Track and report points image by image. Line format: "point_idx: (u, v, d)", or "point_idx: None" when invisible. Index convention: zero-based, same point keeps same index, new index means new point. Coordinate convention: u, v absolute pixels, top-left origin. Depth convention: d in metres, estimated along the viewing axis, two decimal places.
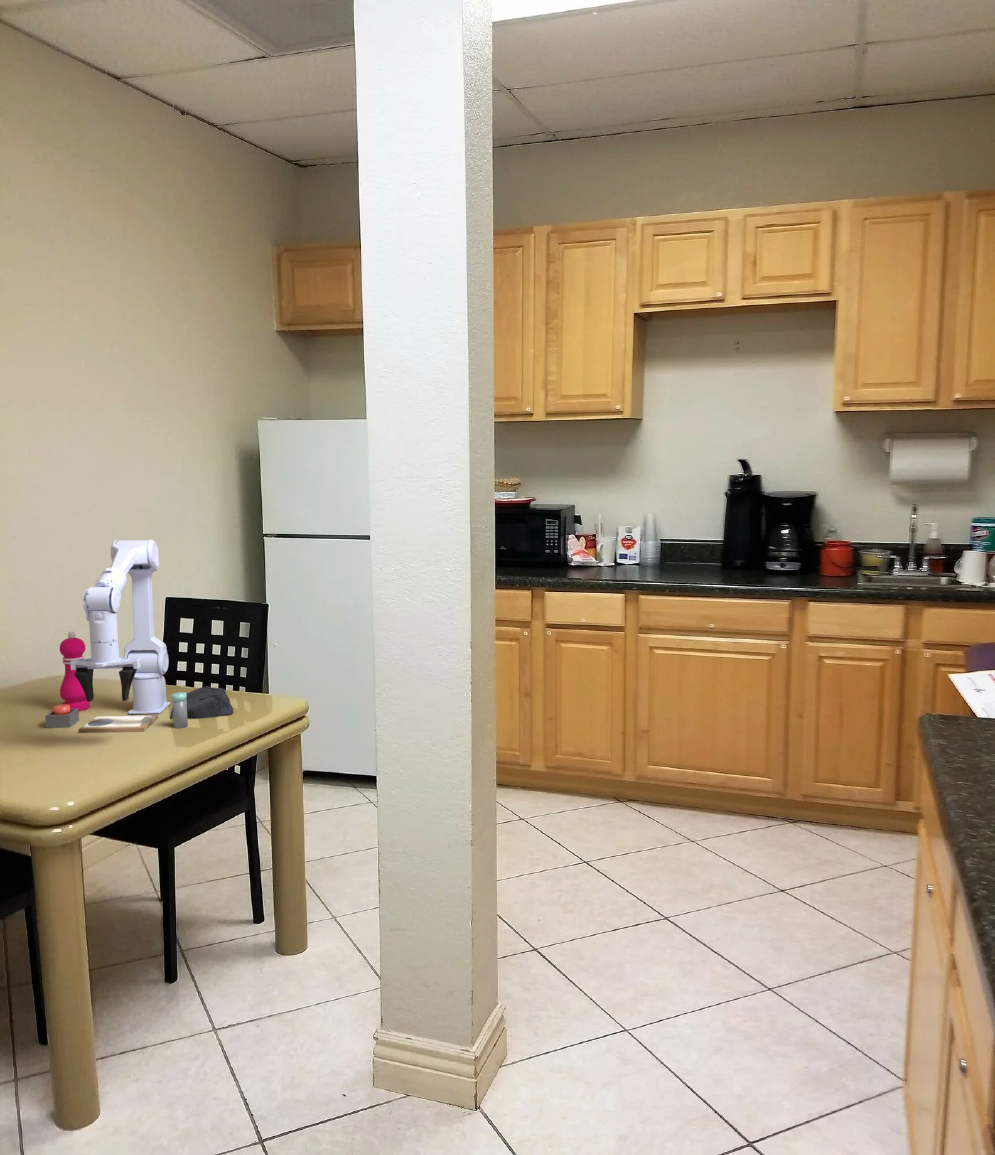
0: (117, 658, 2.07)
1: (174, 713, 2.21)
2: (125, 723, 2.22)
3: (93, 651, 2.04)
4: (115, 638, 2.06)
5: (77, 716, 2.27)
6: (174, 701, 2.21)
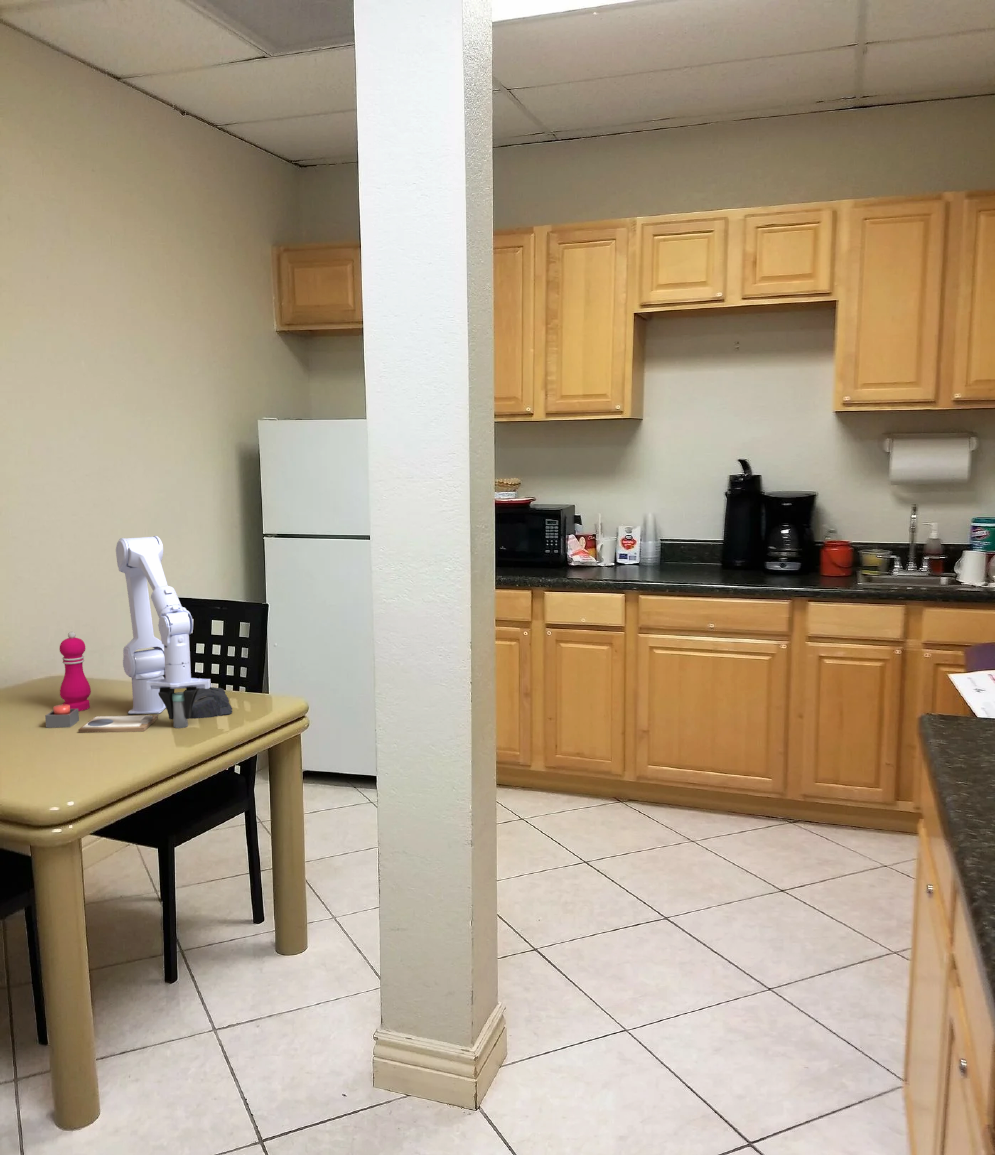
0: (189, 679, 2.21)
1: (174, 713, 2.21)
2: (125, 723, 2.22)
3: (167, 673, 2.19)
4: None
5: (77, 716, 2.27)
6: (174, 701, 2.21)
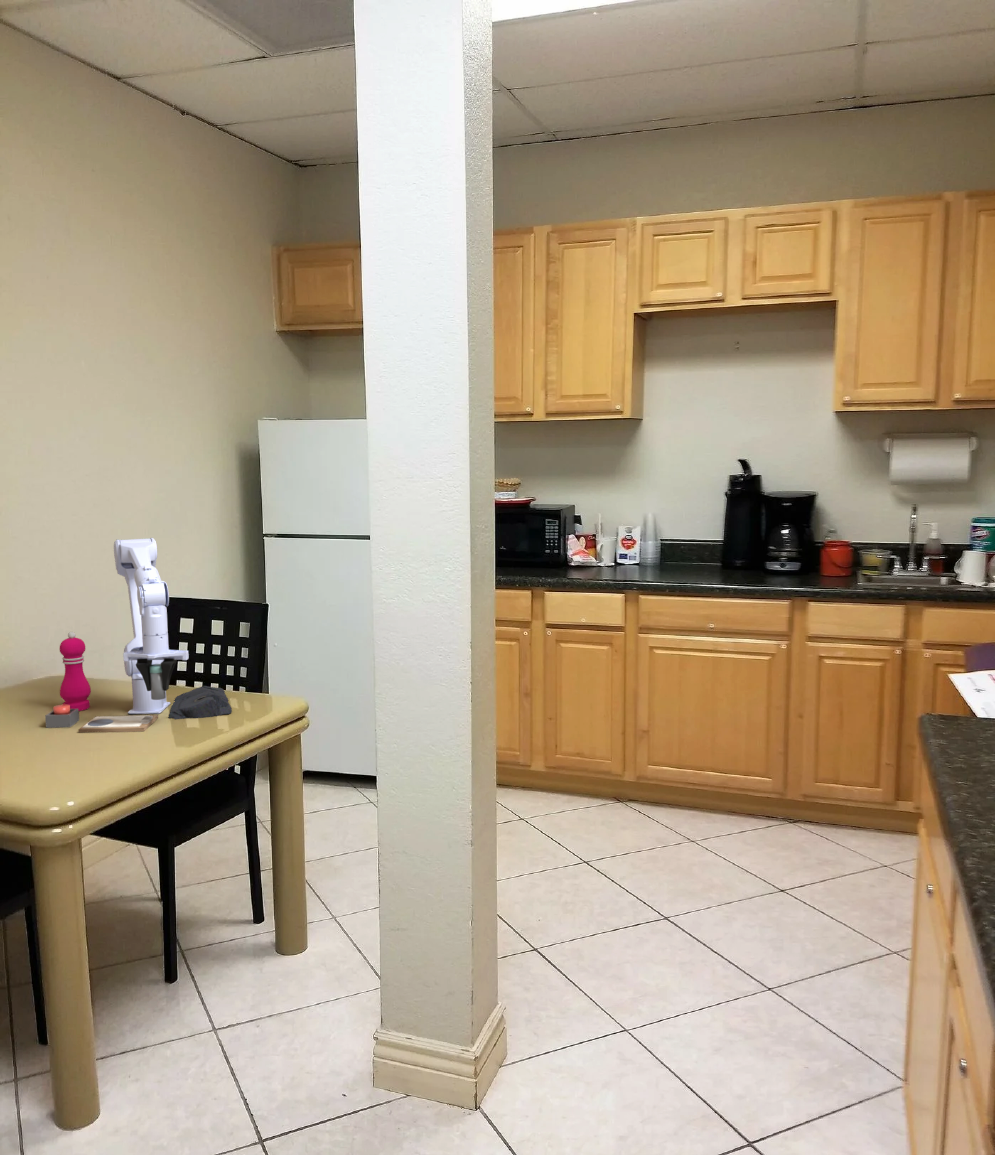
0: (167, 650, 2.20)
1: (152, 685, 2.20)
2: (125, 723, 2.22)
3: (145, 644, 2.18)
4: (167, 630, 2.21)
5: (77, 716, 2.27)
6: (152, 673, 2.20)
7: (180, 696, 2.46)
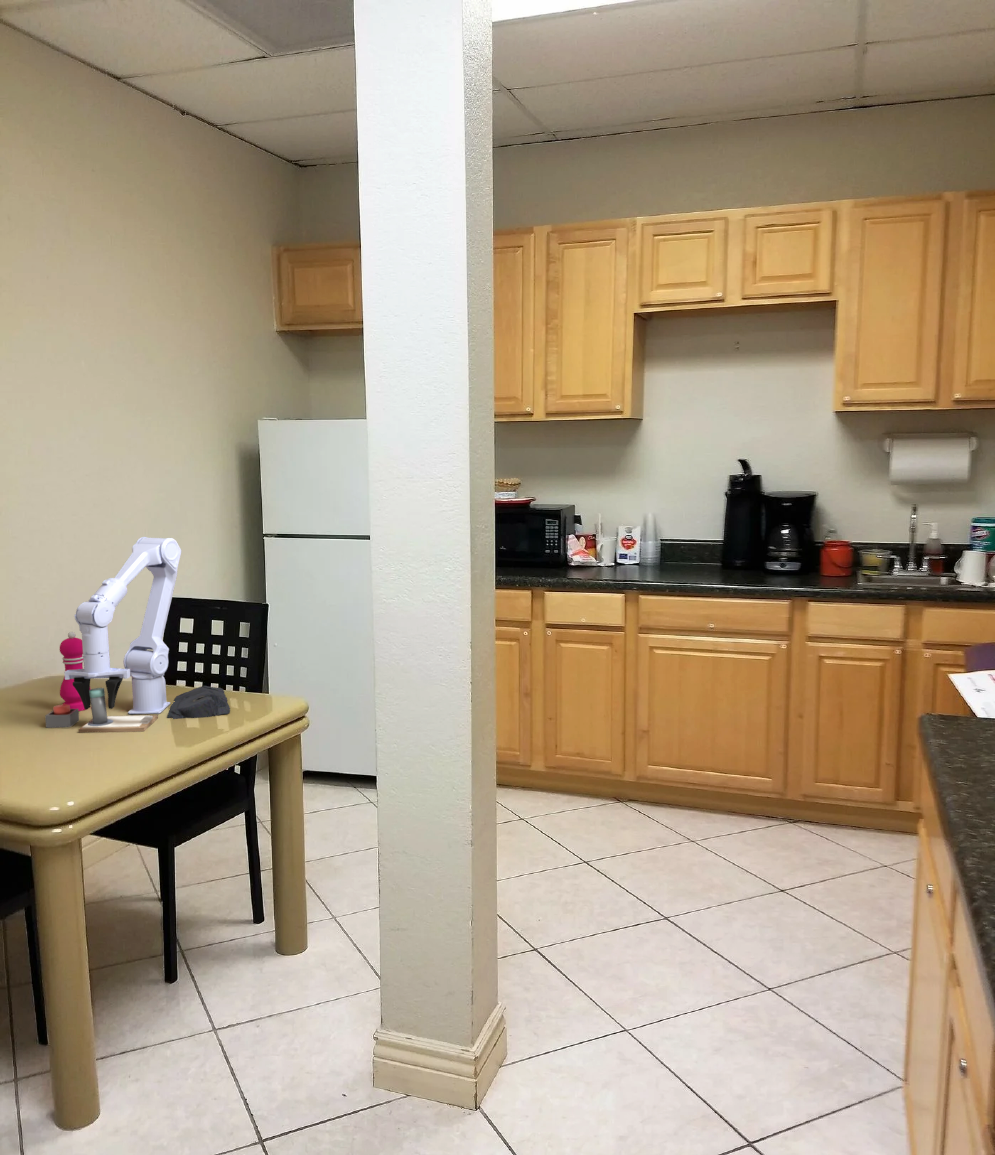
0: (108, 668, 2.21)
1: (92, 709, 2.21)
2: (125, 723, 2.22)
3: (85, 662, 2.18)
4: (102, 651, 2.19)
5: (77, 716, 2.27)
6: (91, 697, 2.20)
7: (180, 696, 2.47)
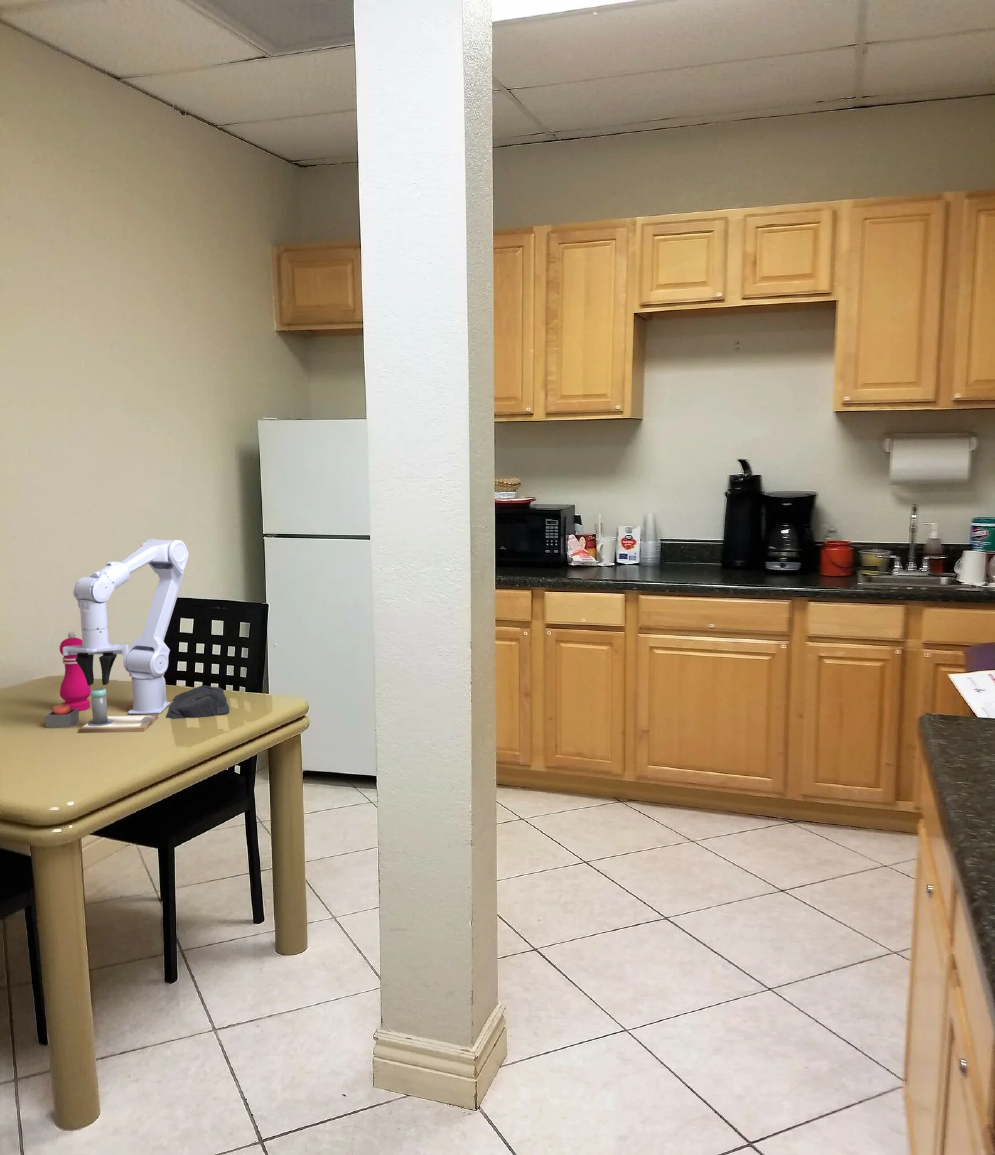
0: (107, 644, 2.20)
1: (93, 709, 2.21)
2: (125, 723, 2.22)
3: (84, 638, 2.18)
4: (100, 626, 2.18)
5: (77, 716, 2.27)
6: (93, 697, 2.20)
7: (179, 695, 2.47)
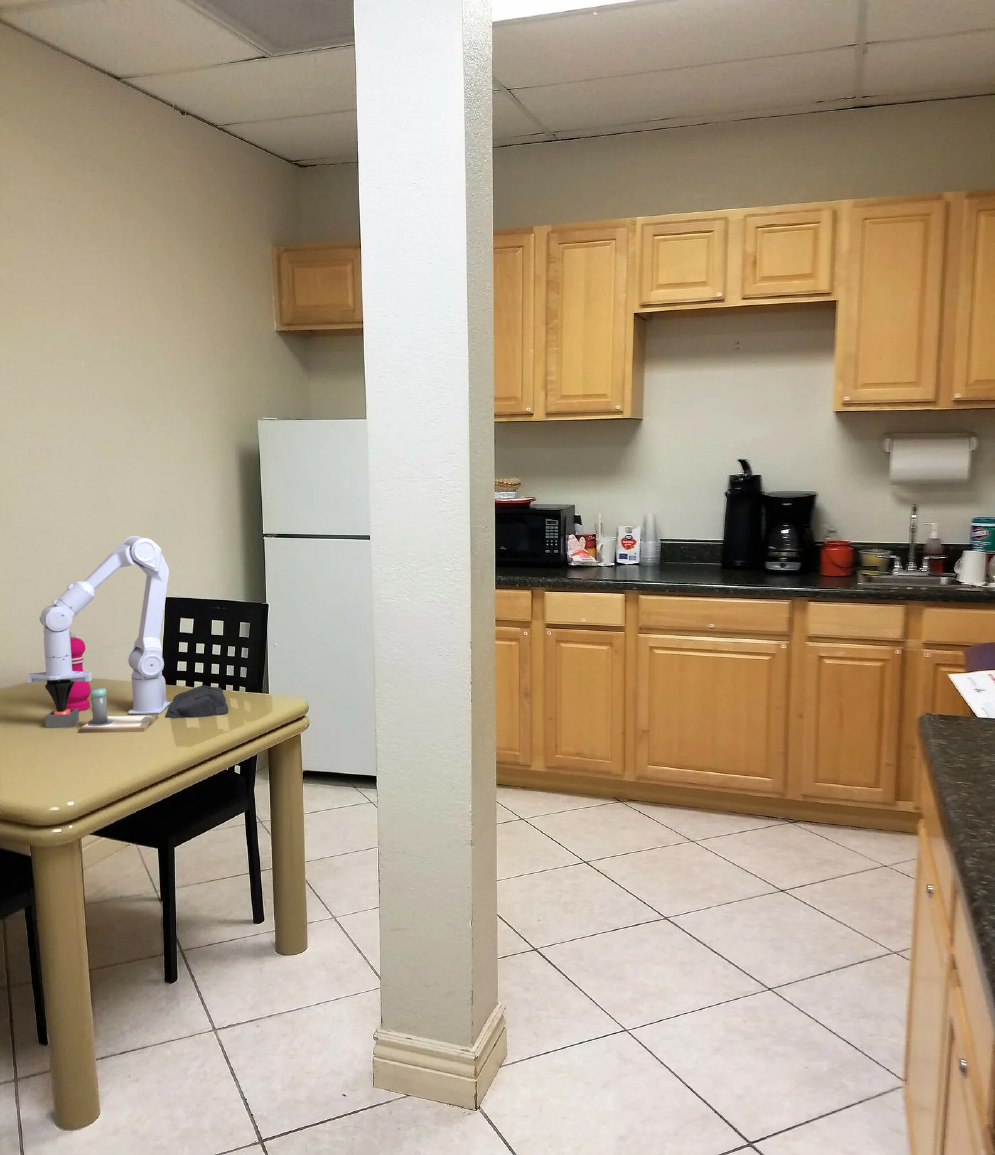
0: (70, 672, 2.23)
1: (93, 709, 2.21)
2: (125, 723, 2.22)
3: (47, 666, 2.21)
4: (56, 655, 2.20)
5: (77, 716, 2.27)
6: (93, 697, 2.20)
7: (178, 695, 2.47)
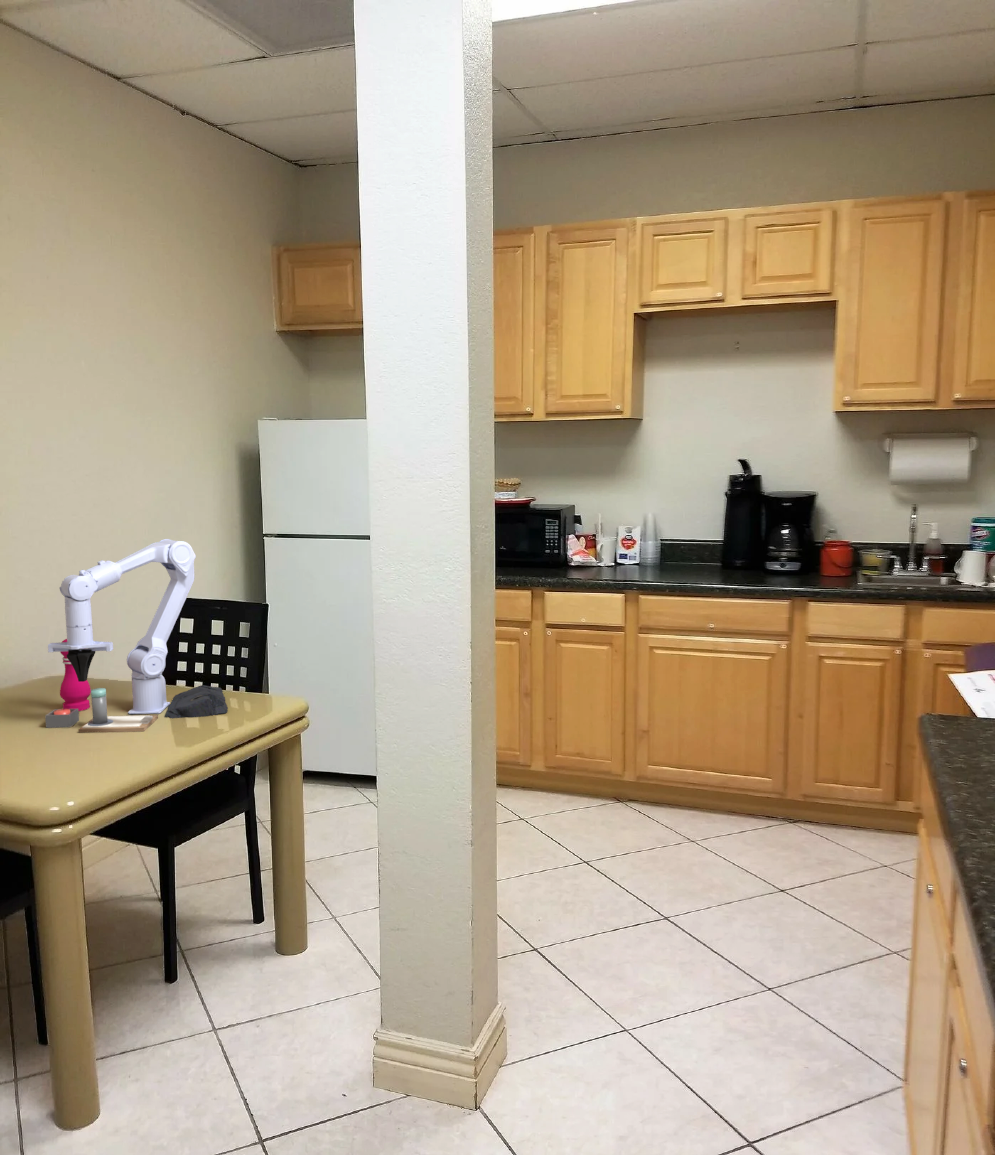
0: (91, 641, 2.24)
1: (93, 709, 2.21)
2: (125, 723, 2.22)
3: (68, 635, 2.21)
4: (79, 624, 2.21)
5: (77, 716, 2.27)
6: (93, 697, 2.20)
7: (178, 695, 2.47)
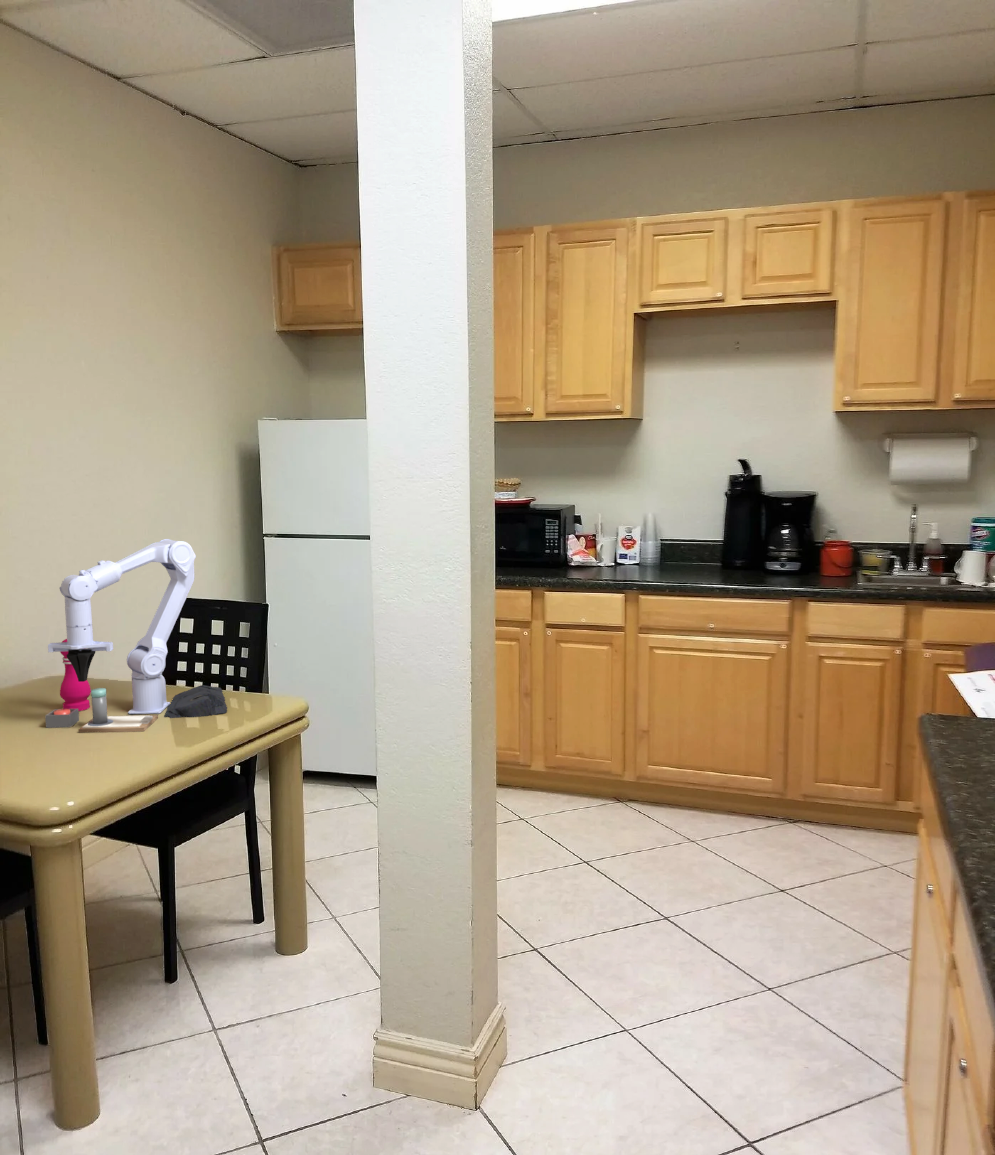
0: (91, 641, 2.24)
1: (93, 709, 2.21)
2: (125, 723, 2.22)
3: (68, 635, 2.21)
4: (79, 624, 2.21)
5: (77, 716, 2.27)
6: (93, 697, 2.20)
7: (178, 695, 2.47)
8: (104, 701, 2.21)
